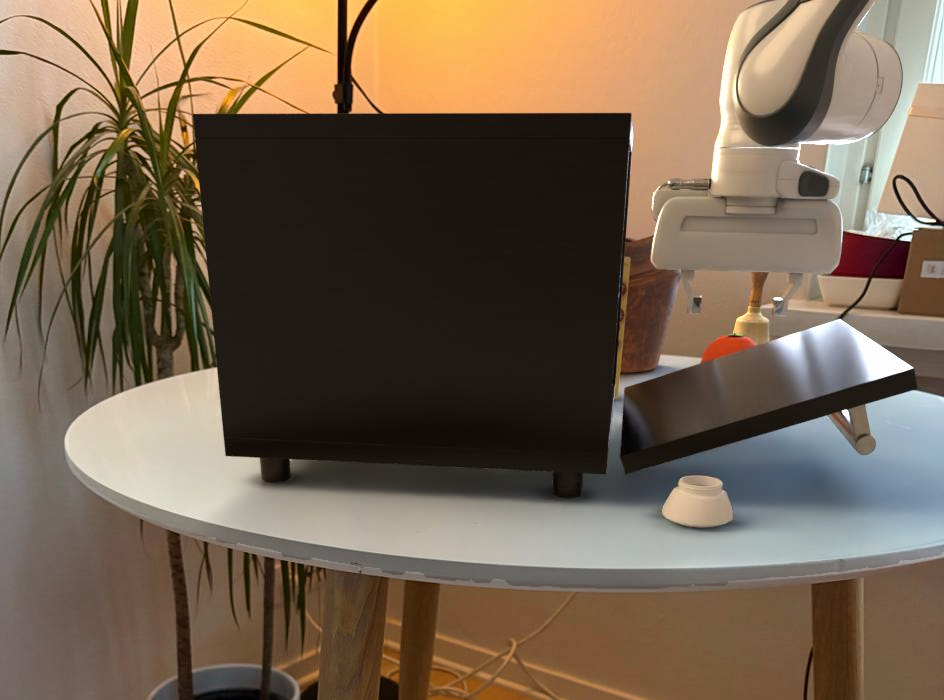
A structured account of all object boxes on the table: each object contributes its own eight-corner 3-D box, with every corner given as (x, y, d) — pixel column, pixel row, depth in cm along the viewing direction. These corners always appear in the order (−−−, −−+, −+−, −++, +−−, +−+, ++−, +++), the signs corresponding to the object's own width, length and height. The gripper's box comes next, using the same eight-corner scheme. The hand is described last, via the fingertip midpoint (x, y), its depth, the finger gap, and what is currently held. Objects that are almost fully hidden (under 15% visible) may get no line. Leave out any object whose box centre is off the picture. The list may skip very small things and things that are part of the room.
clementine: (702, 387, 120) (708, 326, 117) (761, 391, 118) (769, 329, 115) (693, 399, 113) (700, 334, 110) (755, 403, 111) (764, 338, 108)
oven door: (643, 455, 102) (854, 393, 96) (645, 544, 77) (931, 466, 71) (624, 387, 99) (839, 318, 93) (619, 456, 74) (914, 368, 68)
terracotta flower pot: (518, 357, 139) (522, 219, 131) (652, 354, 142) (664, 219, 135) (551, 380, 123) (558, 224, 116) (701, 376, 126) (718, 225, 119)
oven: (612, 421, 102) (633, 134, 91) (604, 507, 75) (631, 112, 64) (332, 410, 106) (318, 133, 95) (228, 486, 79) (192, 113, 68)
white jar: (694, 535, 69) (746, 524, 71) (698, 494, 68) (751, 484, 70) (647, 516, 73) (698, 506, 75) (651, 477, 72) (703, 468, 74)
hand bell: (741, 352, 145) (755, 235, 138) (790, 359, 139) (807, 237, 132) (705, 357, 140) (718, 236, 133) (754, 365, 134) (771, 239, 127)
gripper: (655, 177, 104) (643, 314, 110) (856, 180, 101) (833, 320, 107) (654, 178, 110) (642, 307, 116) (844, 180, 107) (823, 313, 113)
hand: (735, 314), depth 111 cm, fingers open, 8 cm apart
